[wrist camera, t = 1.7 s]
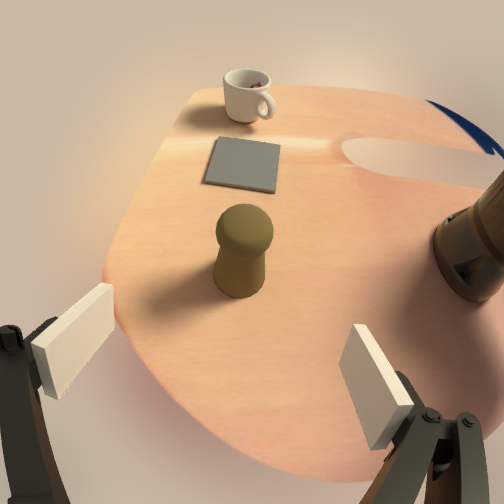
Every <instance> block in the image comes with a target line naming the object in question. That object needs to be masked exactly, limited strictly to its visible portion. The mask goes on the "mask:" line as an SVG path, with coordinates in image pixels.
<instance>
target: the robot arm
mask: <svg viewBox="0 0 504 504" xmlns="http://www.w3.org/2000/svg"><path fill="white" fill-rule="evenodd" d="M434 250H435V256H436V259H437V262H438V265H439V267H440V270H441V272H442V274H443V276H444V277H445V279H446V280H447V282H448V283H449V285H450V286H451V287H452V288H453V289H454V290H455V291H456V292H457V293H458V294H459V295H460V296H462V297H463V298H465V299H466V300H469V301H471V302H483V301H485V300H487V299H488V298H490V297H492V296H493V295H494V294H496V293H497V292H498V290H499V289H500V287H501V286H502V285H503V283H504V171H503V172H502V173H501V174H500V176H499V177H498V178H497V179H496V180H495V181H494V183H493V184H492V185H491V186H490V187H489V188H488V189H487V190H486V192H485V193H484V194H483V195H482V196H481V197H480V198H479V199H478V201H477V202H476V203H475V204H474V205H472V206H470V207H468V208H466V209H463V210H461V211H459V212H457V213H455V214H452V215H450V216H449V217H447V218H446V219H445V220H444V221H443V222H442V223H441V224H440V225H439V227H438V228H437V230H436V232H435V236H434ZM114 325H115V324H114V297H113V285H111V284H106V283H102V282H101V283H100V284H99V285H98V286H96V287H95V288H94V289H93V290H91V291H90V292H89V293H88V294H86V295H85V296H84V297H83V298H82V299H80V300H79V301H78V302H77V303H76V304H74V305H73V306H72V307H71V308H70V309H69V310H67V311H66V312H65V313H64V314H63V315H61V316H60V317H59V318H58V317H53V318H50V319H48V320H46V321H45V322H44V323H43V324H41V326H39V327H38V328H37V329H36V331H33V332H32V333H31V334H30V335H29V336H27V337H26V338H25V339H24V340H23V336H22V332H21V330H20V328H19V327H18V326H15V325H5V326H2V327H0V431H1V440H2V448H3V455H4V461H5V467H6V471H7V476H8V482H9V486H10V490H11V498H8V504H70V501H69V499H68V496H67V493H66V491H65V488H64V485H63V483H62V480H61V477H60V474H59V471H58V468H57V465H56V462H55V459H54V455H53V452H52V448H51V445H50V441H49V437H48V433H47V429H46V425H45V421H44V417H43V412H42V407H41V402H40V396H39V393H38V388H39V387H40V386H41V385H42V387H43V390H44V393H45V395H48V396H50V397H52V398H54V399H57V400H59V399H60V398H61V396H62V395H63V394H64V392H65V391H66V390H67V388H68V387H69V386H70V384H71V383H72V382H73V380H74V379H75V378H76V377H77V375H78V374H79V373H80V371H81V370H82V369H83V367H84V366H85V365H86V364H87V362H88V361H89V360H90V358H91V357H92V356H93V355H94V353H95V352H96V351H97V350H98V348H99V347H100V346H101V345H102V343H103V342H104V341H105V340H106V338H107V337H108V336H109V335H110V333H111V332H112V331H113V330H114V329H115V326H114ZM339 366H340V369H341V372H342V374H343V377H344V379H345V382H346V385H347V387H348V390H349V393H350V395H351V398H352V401H353V403H354V406H355V409H356V412H357V414H358V417H359V420H360V423H361V426H362V428H363V431H364V434H365V437H366V440H367V443H368V445H369V448H370V450H380V449H386V447H387V446H388V445H389V443H390V442H391V440H392V442H393V444H394V448H393V449H392V450H391V452H390V453H389V454H388V456H387V457H386V458H385V460H384V462H385V463H384V464H383V466H382V468H381V470H380V471H379V473H378V475H377V476H376V478H375V480H374V481H373V483H372V485H371V486H370V488H369V489H368V491H367V492H366V494H365V495H364V497H363V499H362V500H361V501H360V503H359V504H414V502H415V500H416V497H417V495H418V493H419V491H420V488H421V486H422V483H423V481H424V478H425V476H426V473H427V482H426V493H425V501H424V504H490V503H489V485H488V474H487V466H486V457H485V450H484V443H483V437H482V432H481V426H480V423H479V420H478V419H477V418H476V417H475V416H473V415H472V414H469V413H461V414H459V415H458V417H457V418H456V419H455V421H452V420H444V419H443V418H442V416H441V414H440V413H439V412H438V411H436V410H434V409H432V408H428V407H427V408H426V407H425V406H424V404H423V403H422V401H421V399H420V398H419V396H418V394H417V393H416V391H414V388H413V386H412V385H411V383H410V382H409V380H408V378H407V377H406V376H405V375H404V374H402V373H401V372H400V371H394V370H393V368H392V366H391V365H390V363H389V361H388V360H387V358H386V357H385V355H384V353H383V352H382V350H381V349H380V347H379V345H378V344H377V342H376V341H375V339H374V338H373V336H372V334H371V333H370V331H369V330H368V328H367V327H366V325H362V324H353V325H352V328H351V331H350V334H349V337H348V340H347V343H346V345H345V348H344V351H343V354H342V357H341V359H340V362H339Z"/></svg>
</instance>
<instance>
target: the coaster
mask: <svg viewBox="0 0 504 504" xmlns="http://www.w3.org/2000/svg"><path fill="white" fill-rule="evenodd" d="M279 154H280V145H277V144H271V143H265V142H258V141H252V140H245V139H237V138H230V137H221V136H219V137H218V140H217V143H216V146H215V149H214V152H213V155H212V158H211V161H210V165H209V168H208V171H207V174H206V177H205V183H208V184H216V185H223V186H230V187H237V188H243V189H250V190H256V191H263V192H269V193H275V190H276V181H277V172H278V163H279Z"/></svg>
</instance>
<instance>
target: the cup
mask: <svg viewBox="0 0 504 504" xmlns="http://www.w3.org/2000/svg"><path fill="white" fill-rule="evenodd" d="M223 85H224V97H225V108H226V112H227V114H228V116H229V117H230V118H231V119H233V120H235V121H238V122H253V121H255V120H257V119H259V118H262V119H264V120H268V119H270V118H272V117H273V115H274V113H275V109H276V105H275V101H274V99H273V98H272V97H271V96H270V95H269V94H268V93H269V89H270V86H271V79H270V77H269V76H268V75H266V74H265V73H263V72H261V71H258V70H254V69H236V70H232V71H230V72H228V73H226V74H225V76H224V77H223ZM266 103H267V105H268V113H267V114H266V113H265V111H264V107H265V104H266Z"/></svg>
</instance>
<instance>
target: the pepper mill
mask: <svg viewBox="0 0 504 504" xmlns="http://www.w3.org/2000/svg"><path fill="white" fill-rule="evenodd" d="M216 237H217V241H218V244H219V245H220V249H219V252H218V256H217V260H216V264H215V269H214V279H215V283H216V285H217V286H218V288H219V289H220V290H221V291H222V292H223V293H225V294H226V295H228V296H231V297H233V298H246V297H250V296H252V295H253V294H255V293H257V292H258V291H259V289H260V288H261V287H262V285H263V283H264V280H265V251H266V250H267V249H268V248H269V246H270V244H271V241H272V239H273V225H272V222H271V219H270V218H269V216H268V215H267V214H266V213H265V212H264V211H263V210H262V209H260V208H259V207H257V206H254V205H251V204H238V205H235V206H232V207H230V208H228V209H227V210H226V211H225V212H224V213H222V215H221V216H220V218H219V220H218V222H217V226H216Z"/></svg>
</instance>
